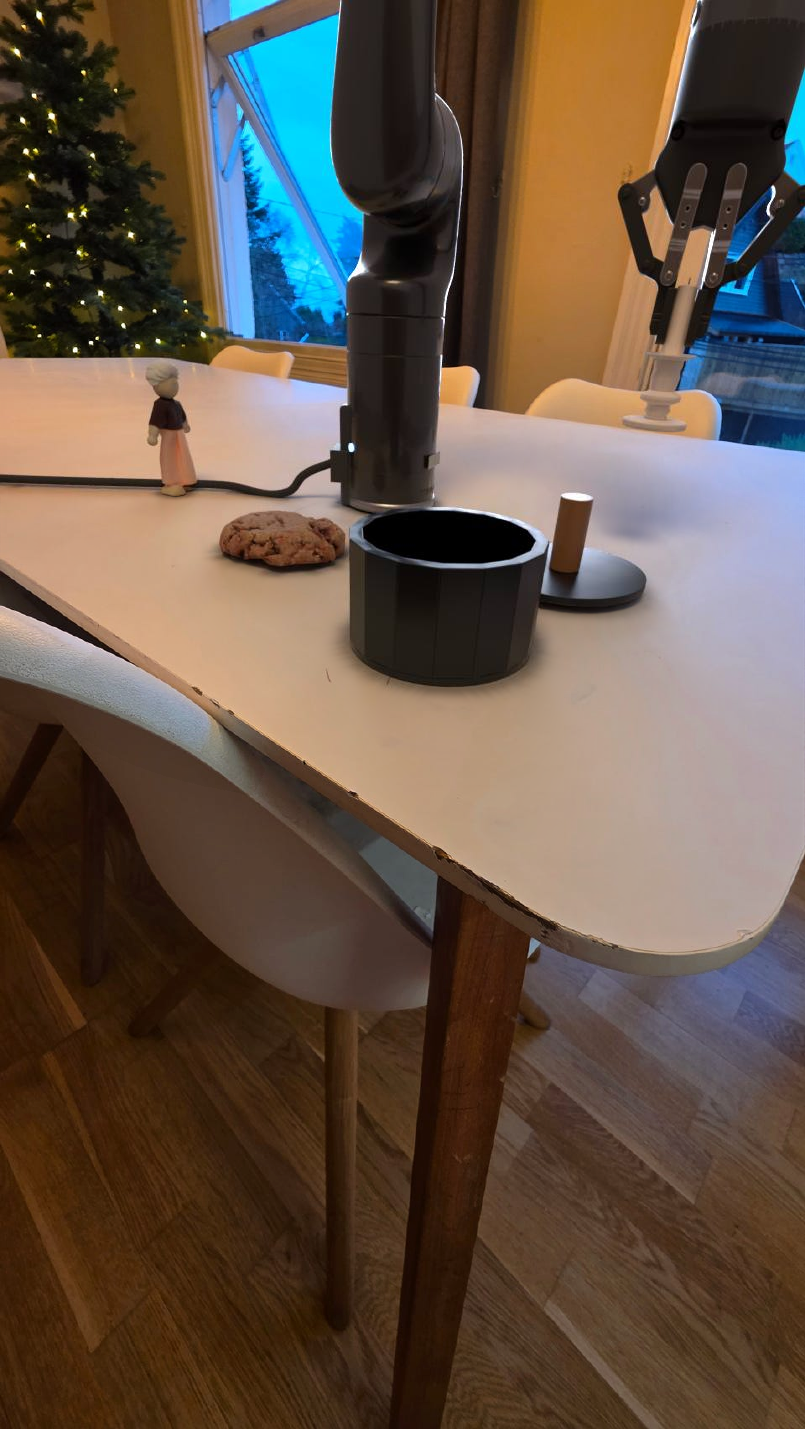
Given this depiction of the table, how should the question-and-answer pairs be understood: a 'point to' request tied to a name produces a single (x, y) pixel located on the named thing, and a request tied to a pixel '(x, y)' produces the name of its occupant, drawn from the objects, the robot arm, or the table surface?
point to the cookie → (282, 538)
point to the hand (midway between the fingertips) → (673, 344)
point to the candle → (667, 369)
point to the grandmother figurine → (170, 429)
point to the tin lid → (585, 563)
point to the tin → (444, 593)
